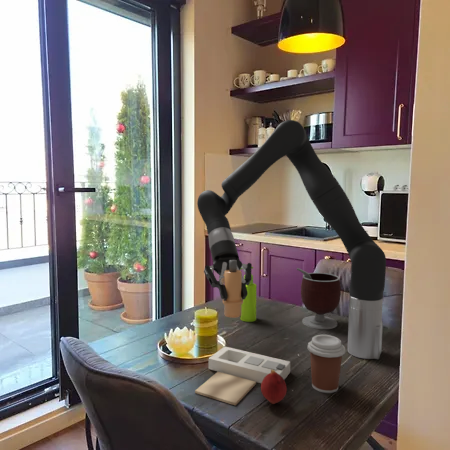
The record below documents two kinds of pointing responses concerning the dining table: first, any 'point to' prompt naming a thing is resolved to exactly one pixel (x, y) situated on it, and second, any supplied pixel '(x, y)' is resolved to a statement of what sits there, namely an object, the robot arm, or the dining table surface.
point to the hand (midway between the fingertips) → (235, 298)
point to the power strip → (247, 364)
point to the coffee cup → (325, 362)
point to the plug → (233, 290)
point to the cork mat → (226, 388)
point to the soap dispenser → (249, 302)
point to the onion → (273, 387)
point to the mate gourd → (320, 298)
